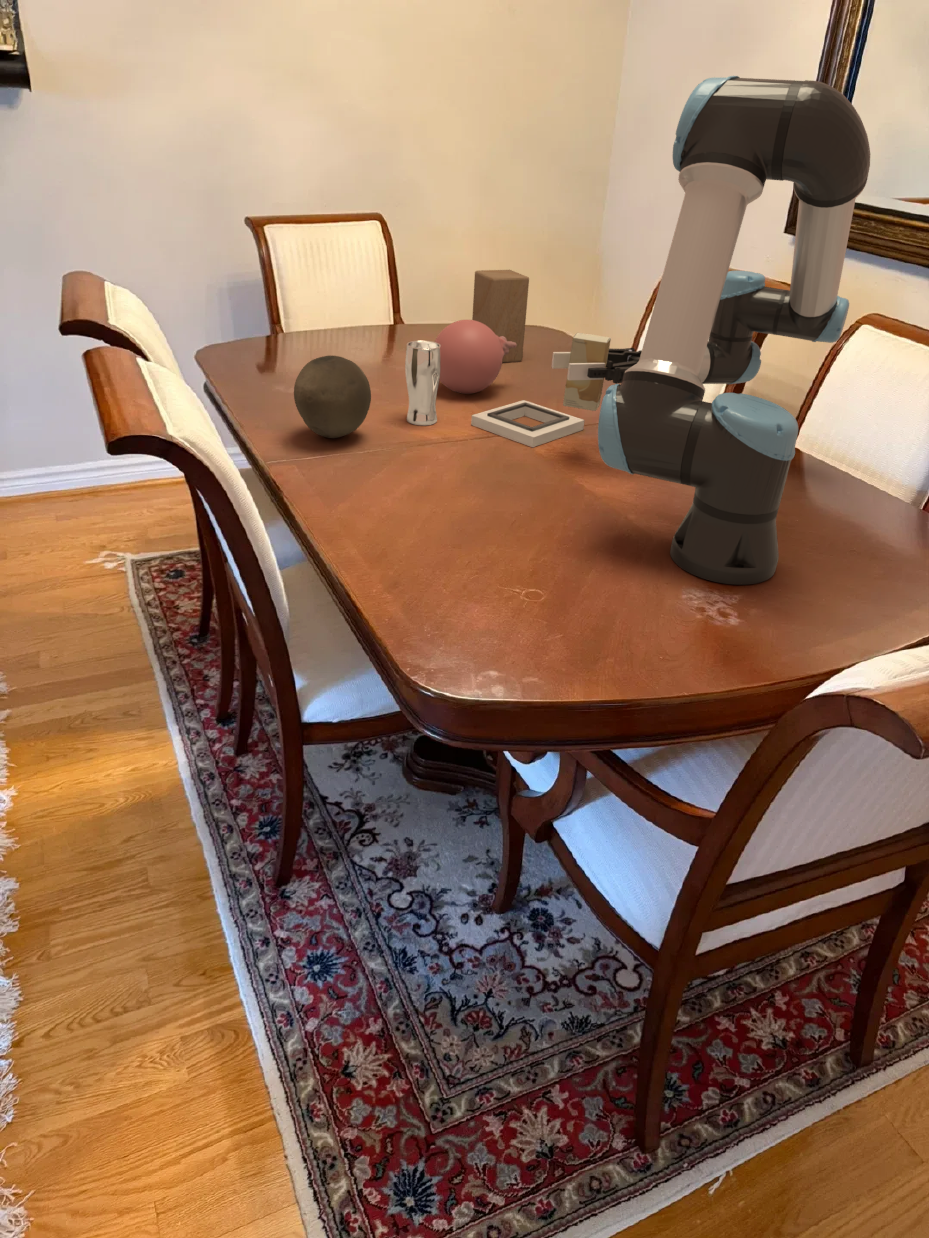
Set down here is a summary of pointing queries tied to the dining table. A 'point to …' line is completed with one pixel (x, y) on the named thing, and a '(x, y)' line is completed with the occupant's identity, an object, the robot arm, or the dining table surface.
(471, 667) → the dining table surface
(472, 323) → the balloon
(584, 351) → the skincare box
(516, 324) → the wooden block
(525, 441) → the socket block
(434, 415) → the beer glass
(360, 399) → the dark brown ball
